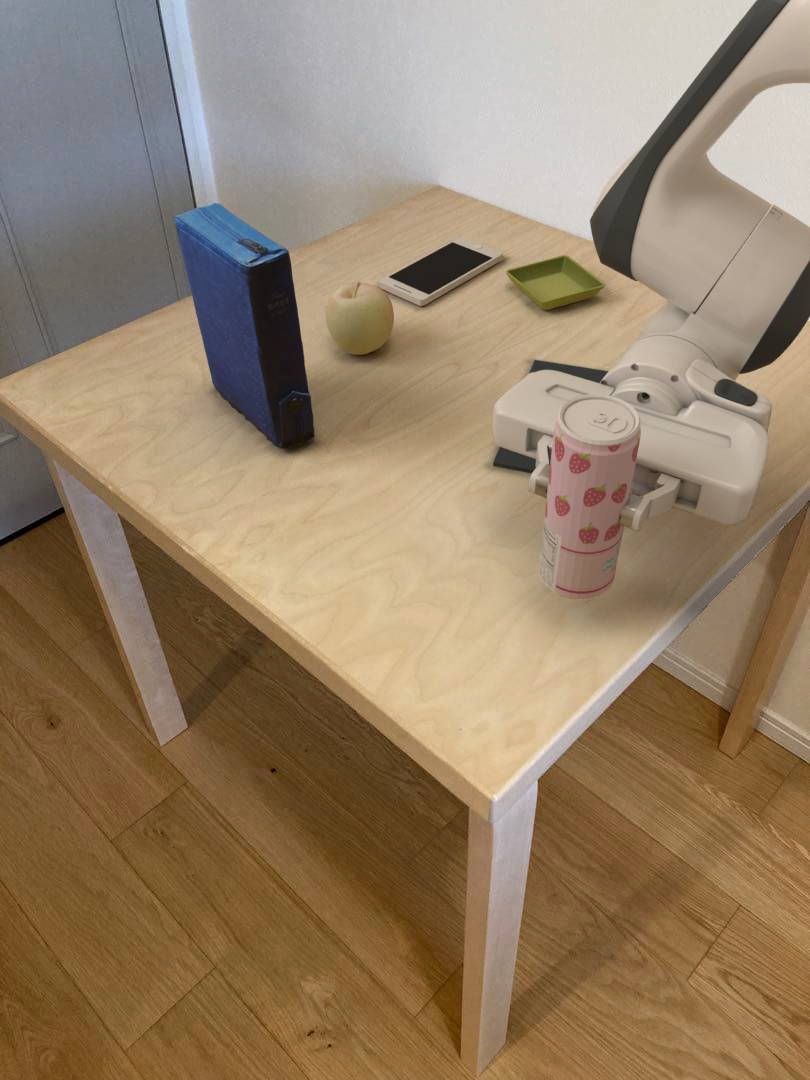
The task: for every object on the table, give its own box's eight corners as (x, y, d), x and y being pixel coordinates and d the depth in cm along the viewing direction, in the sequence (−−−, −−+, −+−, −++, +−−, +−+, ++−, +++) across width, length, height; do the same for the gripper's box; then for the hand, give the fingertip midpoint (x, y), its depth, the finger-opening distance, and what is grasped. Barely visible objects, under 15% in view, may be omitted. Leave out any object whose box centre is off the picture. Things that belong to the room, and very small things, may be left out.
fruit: (405, 355, 97) (403, 288, 92) (341, 370, 95) (335, 303, 90) (380, 322, 102) (377, 256, 97) (319, 335, 101) (312, 270, 95)
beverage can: (612, 607, 66) (643, 447, 56) (535, 597, 67) (551, 439, 57) (615, 553, 70) (644, 395, 60) (542, 545, 71) (558, 387, 61)
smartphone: (504, 258, 112) (504, 251, 112) (421, 307, 104) (421, 299, 104) (460, 242, 116) (461, 235, 115) (377, 287, 108) (377, 280, 107)
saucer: (503, 285, 108) (503, 269, 106) (564, 269, 110) (566, 253, 109) (540, 319, 102) (542, 302, 101) (604, 301, 104) (607, 285, 103)
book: (325, 440, 87) (303, 246, 73) (278, 462, 85) (247, 266, 71) (250, 375, 95) (218, 190, 81) (206, 393, 93) (165, 206, 79)
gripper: (538, 334, 73) (453, 424, 64) (795, 407, 65) (736, 520, 56) (532, 398, 77) (453, 490, 69) (773, 474, 69) (715, 588, 61)
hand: (583, 504), depth 62 cm, fingers closed on beverage can, 5 cm apart
